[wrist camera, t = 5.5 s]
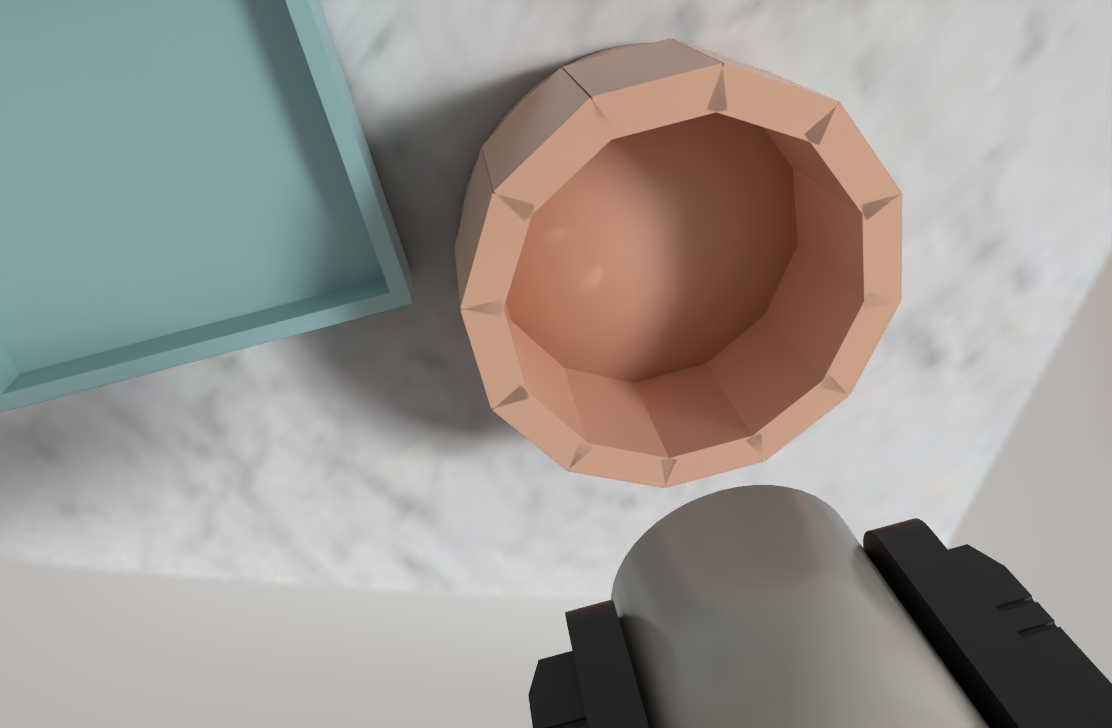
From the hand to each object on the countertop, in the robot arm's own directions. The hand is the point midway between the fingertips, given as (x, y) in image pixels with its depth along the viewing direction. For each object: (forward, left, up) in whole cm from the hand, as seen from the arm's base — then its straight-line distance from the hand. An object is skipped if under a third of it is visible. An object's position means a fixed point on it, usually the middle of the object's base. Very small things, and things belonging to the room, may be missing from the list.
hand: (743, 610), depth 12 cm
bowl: (0, +2, -15) cm, 15 cm away
